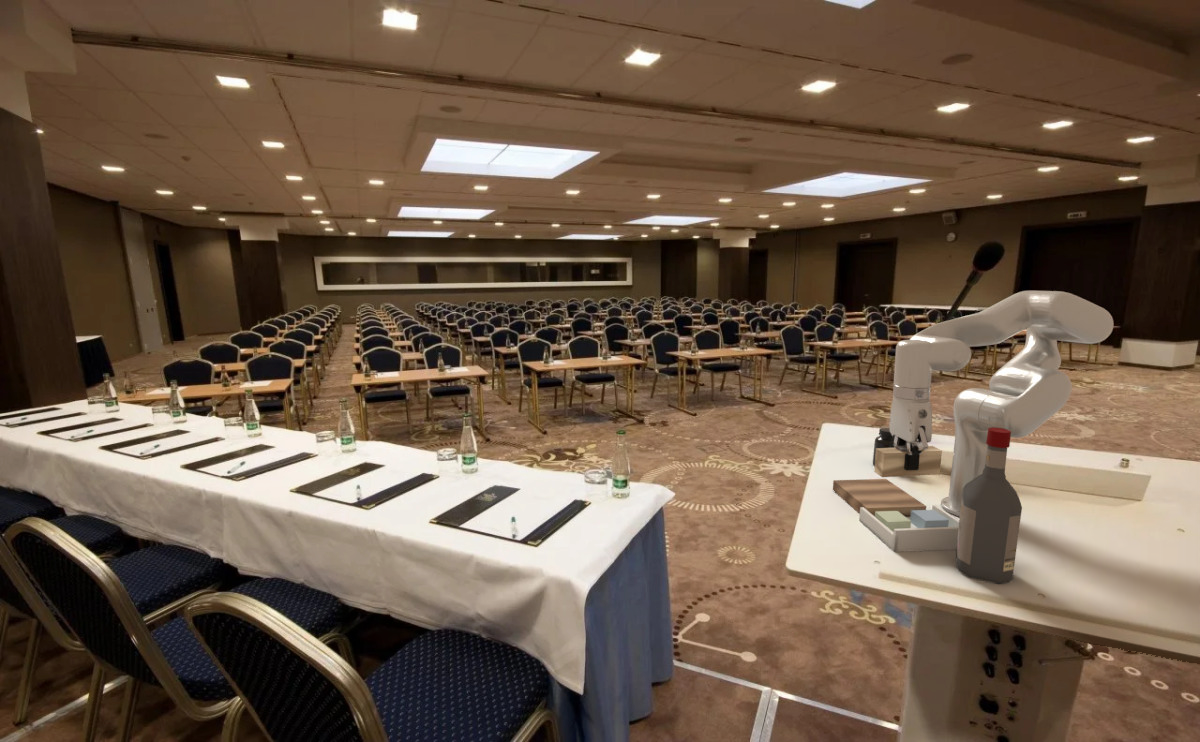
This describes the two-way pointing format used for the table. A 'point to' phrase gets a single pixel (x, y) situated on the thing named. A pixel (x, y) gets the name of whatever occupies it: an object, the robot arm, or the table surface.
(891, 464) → the wooden block
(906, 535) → the tray
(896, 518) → the tile sage
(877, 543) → the table surface
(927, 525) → the tile slate
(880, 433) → the supplement bottle
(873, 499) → the wooden serving board
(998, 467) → the liquor
